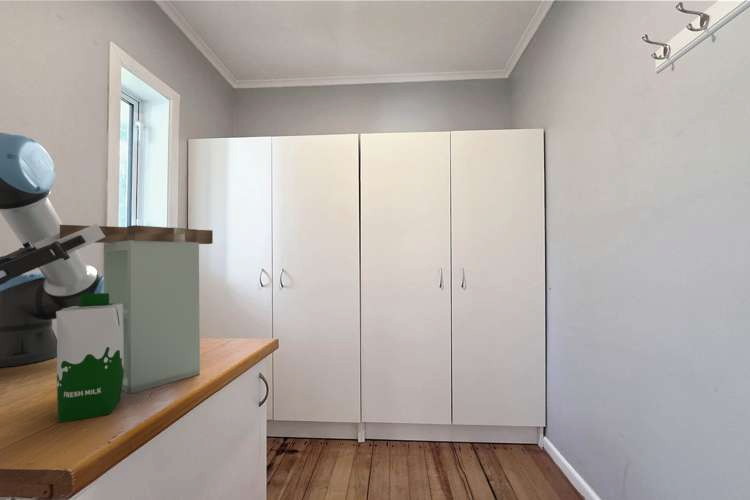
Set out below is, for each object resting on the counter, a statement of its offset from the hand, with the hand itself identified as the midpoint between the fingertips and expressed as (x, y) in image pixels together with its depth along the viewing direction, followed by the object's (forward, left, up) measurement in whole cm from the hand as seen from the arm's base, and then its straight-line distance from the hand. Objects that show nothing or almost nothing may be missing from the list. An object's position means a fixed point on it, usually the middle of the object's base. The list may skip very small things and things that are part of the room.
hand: (86, 232), depth 70 cm
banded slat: (-9, +9, -2) cm, 13 cm away
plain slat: (-10, +4, -2) cm, 11 cm away
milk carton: (+6, +7, -32) cm, 33 cm away
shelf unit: (-11, +5, -32) cm, 34 cm away
